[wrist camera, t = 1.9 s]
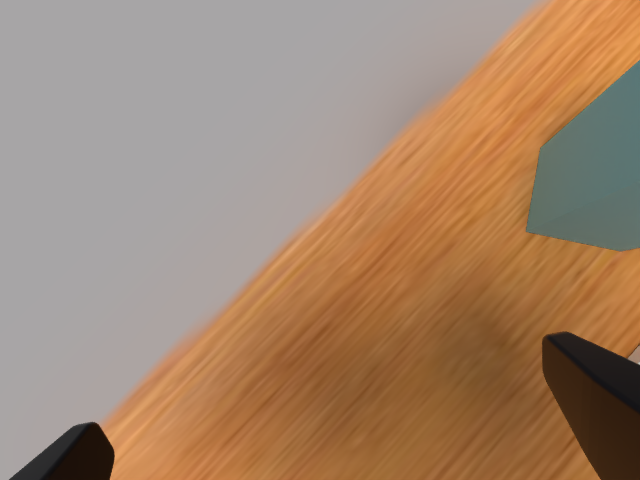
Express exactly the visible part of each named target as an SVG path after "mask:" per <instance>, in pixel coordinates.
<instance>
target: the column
mask: <svg viewBox="0 0 640 480" xmlns="http://www.w3.org/2000/svg"><path fill="white" fill-rule="evenodd" d="M526 232H529V233H534V234H539V235H544V236H549V237H553V238H558V239H563V240H568V241H573V242H578V243H583V244H587V245H592V246H597V247H602V248H607V249H612V250H617V251H625V250H630V249H635V248H640V60H639V61H638V62H637V63H636V64H635V65H634V66H632V67H631V68H630V69H629V70H628V71H627V72H626V73H625V74H623V75H622V76H621V77H620V78H619V79H618V80H617V81H616V82H614V83H613V84H612V85H611V86H610V87H609V88H608V89H606V90H605V91H604V92H603V93H602V94H601V95H600V96H599V97H597V98H596V99H595V100H594V101H593V102H592V103H591V104H590V105H588V106H587V107H586V108H585V109H584V110H583V111H582V112H581V113H579V114H578V115H577V116H576V117H575V118H574V119H573V120H572V121H570V122H569V123H568V124H567V125H566V126H565V127H564V128H563V129H561V130H560V131H559V132H558V133H557V134H556V135H555V136H553V137H552V138H551V139H550V140H549V141H548V142H547V143H546V144H544V145H543V146H542V147H541V148H540V154H539V159H538V165H537V171H536V176H535V182H534V188H533V193H532V199H531V205H530V210H529V216H528V222H527V227H526Z"/></svg>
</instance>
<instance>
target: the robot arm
mask: <svg viewBox="0 0 640 480" xmlns="http://www.w3.org/2000/svg"><path fill="white" fill-rule="evenodd" d="M542 368H543V374H544V377H545V379H546V382H547V384H548V386H549V387H550V389H551V391H552V393H553V395H554V397H555V399H556V401H557V403H558V404H559V406H560V408H561V410H562V412H563V414H564V416H565V418H566V420H567V421H568V423H569V425H570V427H571V429H572V431H573V433H574V435H575V437H576V438H577V440H578V442H579V444H580V446H581V448H582V450H583V451H584V453H585V455H586V457H587V458H588V460H589V462H590V463H591V465H592V466H593V468H594V470H595V471H596V473H597V474H598V476H599V477H600V479H601V480H640V365H639V364H637V363H635V362H633V361H631V360H629V359H626V358H624V357H622V356H620V355H618V354H616V353H613V352H611V351H609V350H607V349H605V348H602V347H600V346H598V345H596V344H594V343H592V342H589V341H587V340H585V339H583V338H581V337H578V336H576V335H574V334H572V333H569V332H558V333H552V334H547V335H545V336H544V337H543V341H542ZM114 457H115V455H114V449H113V447H112V445H111V444H110V442H109V440H108V439H107V437H106V435H105V434H104V432H103V430H102V429H101V427H100V426H99V424H97V423H95V422H89V423H83V424H78V425H76V426H73V427H72V428H70V429H69V430H68V431H67V432H66V433H64V434H63V435H62V436H61V437H60V438H58V439H57V440H56V441H55V442H54V443H52V444H51V445H50V446H49V447H48V448H47V449H45V450H44V451H43V452H42V453H40V454H39V455H38V456H37V457H36V458H34V459H33V460H32V461H31V462H30V463H28V464H27V465H26V466H25V467H24V468H22V469H21V470H20V471H19V472H18V473H16V474H15V475H14V476H13V477H12V478H10V479H9V480H110V476H111V472H112V468H113V464H114Z"/></svg>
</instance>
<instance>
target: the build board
mask: <svg viewBox="0 0 640 480" xmlns="http://www.w3.org/2000/svg"><path fill="white" fill-rule="evenodd" d="M628 359H629V360H631V361H633V362H635V363H637V364H639V365H640V345H639V346H638V347H637V348H636V349H635V351H634V352H633V353H632V354H631V355H630V356H629V357H628Z"/></svg>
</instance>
